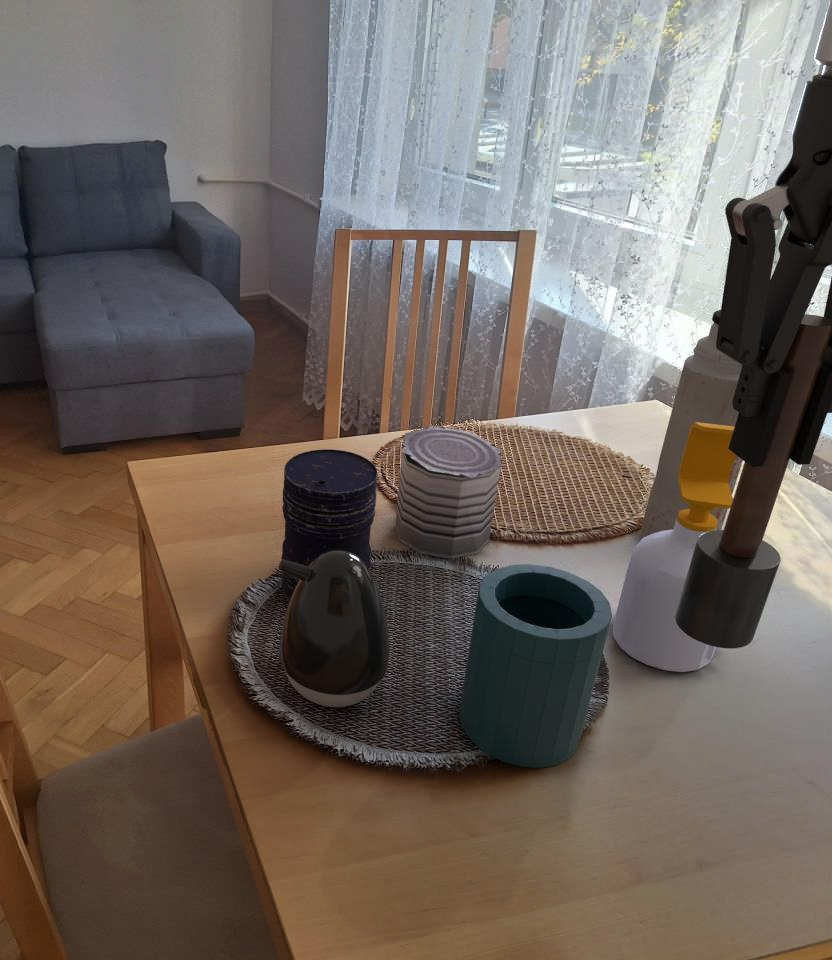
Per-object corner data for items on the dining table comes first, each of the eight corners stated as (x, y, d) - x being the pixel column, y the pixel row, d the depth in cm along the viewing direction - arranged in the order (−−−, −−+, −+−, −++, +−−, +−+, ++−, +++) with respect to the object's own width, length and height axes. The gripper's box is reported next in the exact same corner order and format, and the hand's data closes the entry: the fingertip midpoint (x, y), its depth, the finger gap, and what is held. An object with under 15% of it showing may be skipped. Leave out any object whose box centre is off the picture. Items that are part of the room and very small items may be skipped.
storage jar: (298, 554, 102) (301, 442, 95) (379, 573, 99) (389, 458, 91) (267, 600, 95) (268, 482, 87) (354, 623, 91) (363, 501, 84)
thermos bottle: (725, 542, 102) (798, 313, 88) (697, 569, 97) (770, 332, 84) (657, 517, 107) (716, 298, 94) (627, 541, 103) (685, 315, 89)
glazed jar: (552, 683, 82) (579, 561, 75) (599, 765, 73) (634, 636, 66) (445, 687, 82) (463, 566, 75) (480, 770, 73) (503, 642, 66)
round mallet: (727, 603, 67) (825, 305, 55) (768, 647, 62) (884, 331, 51) (661, 607, 67) (745, 309, 55) (697, 650, 62) (797, 335, 51)
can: (438, 500, 112) (448, 417, 107) (509, 538, 104) (525, 450, 98) (374, 528, 107) (381, 442, 101) (444, 570, 99) (456, 479, 93)
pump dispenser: (277, 649, 88) (279, 522, 80) (380, 653, 86) (392, 525, 79) (275, 721, 79) (277, 586, 71) (390, 727, 78) (405, 591, 70)
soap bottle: (613, 662, 84) (673, 437, 72) (610, 608, 91) (664, 396, 80) (717, 683, 81) (797, 452, 69) (705, 626, 88) (776, 408, 77)
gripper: (976, 60, 50) (843, 427, 61) (711, 72, 50) (627, 437, 61) (1099, 68, 43) (925, 477, 55) (794, 82, 43) (683, 489, 54)
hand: (768, 455), depth 58 cm, fingers closed on round mallet, 2 cm apart
